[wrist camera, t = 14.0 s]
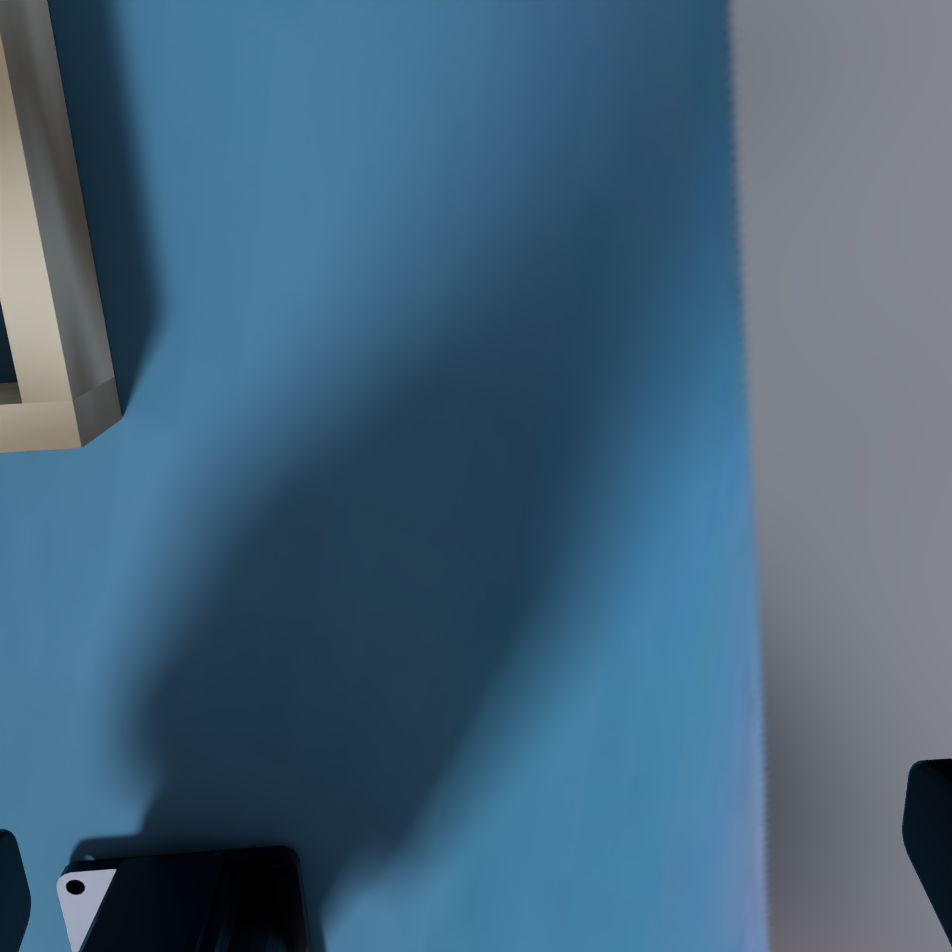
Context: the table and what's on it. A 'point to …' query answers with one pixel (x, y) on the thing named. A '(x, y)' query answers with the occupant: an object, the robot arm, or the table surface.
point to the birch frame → (46, 254)
